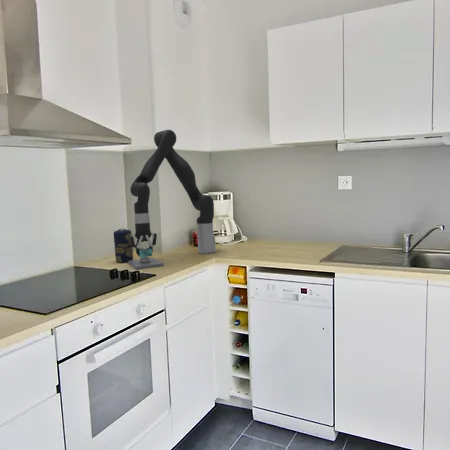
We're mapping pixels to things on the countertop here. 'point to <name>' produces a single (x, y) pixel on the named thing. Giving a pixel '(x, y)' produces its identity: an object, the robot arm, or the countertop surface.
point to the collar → (145, 252)
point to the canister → (123, 245)
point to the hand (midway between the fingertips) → (144, 254)
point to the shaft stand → (145, 262)
